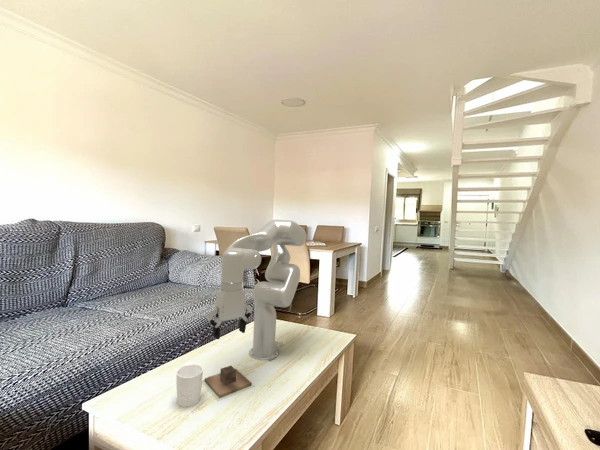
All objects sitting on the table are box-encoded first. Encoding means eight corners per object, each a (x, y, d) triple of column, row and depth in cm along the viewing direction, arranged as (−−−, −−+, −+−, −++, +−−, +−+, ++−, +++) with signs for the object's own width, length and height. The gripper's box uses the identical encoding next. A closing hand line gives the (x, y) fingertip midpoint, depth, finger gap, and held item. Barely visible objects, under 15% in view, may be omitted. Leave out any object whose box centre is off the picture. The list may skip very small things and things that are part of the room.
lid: (234, 370, 110) (235, 357, 110) (251, 385, 101) (252, 371, 101) (204, 381, 102) (204, 367, 102) (219, 398, 93) (220, 383, 93)
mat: (236, 370, 111) (236, 369, 111) (255, 387, 101) (255, 386, 100) (200, 382, 102) (200, 380, 102) (217, 402, 91) (217, 401, 91)
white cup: (192, 412, 87) (194, 379, 86) (169, 407, 88) (170, 375, 88) (206, 396, 94) (207, 366, 94) (184, 392, 96) (186, 362, 96)
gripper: (248, 281, 109) (245, 326, 109) (203, 286, 98) (201, 336, 98) (258, 285, 103) (256, 332, 104) (212, 291, 92) (210, 344, 92)
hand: (229, 334), depth 101 cm, fingers open, 9 cm apart
